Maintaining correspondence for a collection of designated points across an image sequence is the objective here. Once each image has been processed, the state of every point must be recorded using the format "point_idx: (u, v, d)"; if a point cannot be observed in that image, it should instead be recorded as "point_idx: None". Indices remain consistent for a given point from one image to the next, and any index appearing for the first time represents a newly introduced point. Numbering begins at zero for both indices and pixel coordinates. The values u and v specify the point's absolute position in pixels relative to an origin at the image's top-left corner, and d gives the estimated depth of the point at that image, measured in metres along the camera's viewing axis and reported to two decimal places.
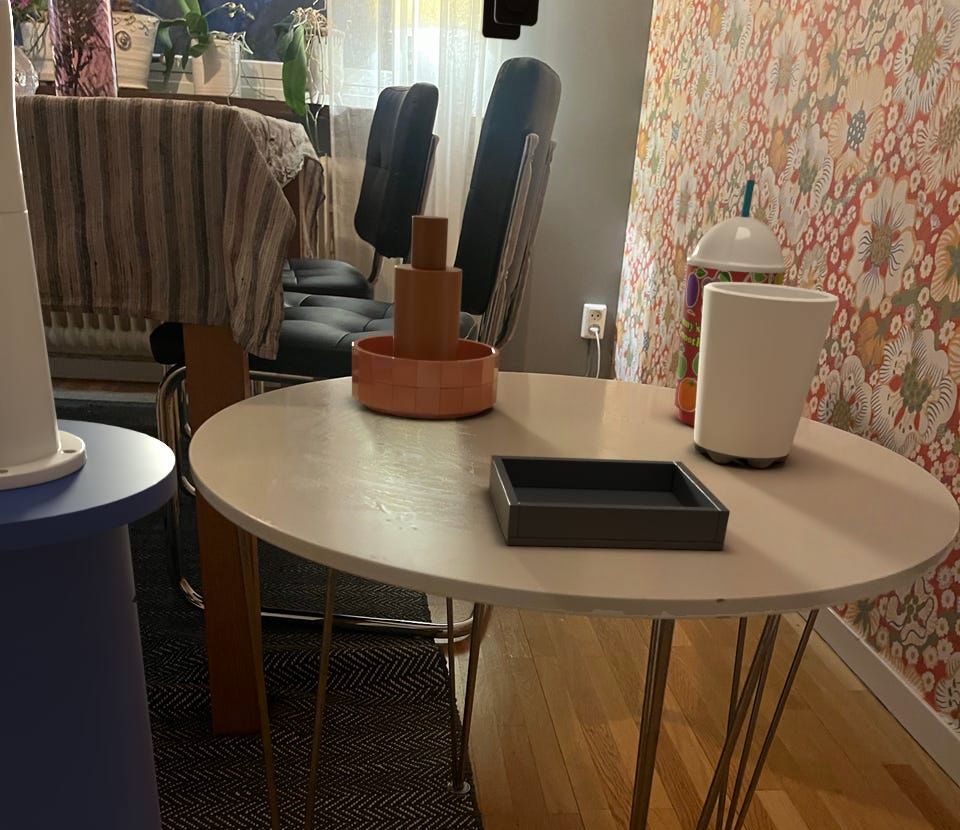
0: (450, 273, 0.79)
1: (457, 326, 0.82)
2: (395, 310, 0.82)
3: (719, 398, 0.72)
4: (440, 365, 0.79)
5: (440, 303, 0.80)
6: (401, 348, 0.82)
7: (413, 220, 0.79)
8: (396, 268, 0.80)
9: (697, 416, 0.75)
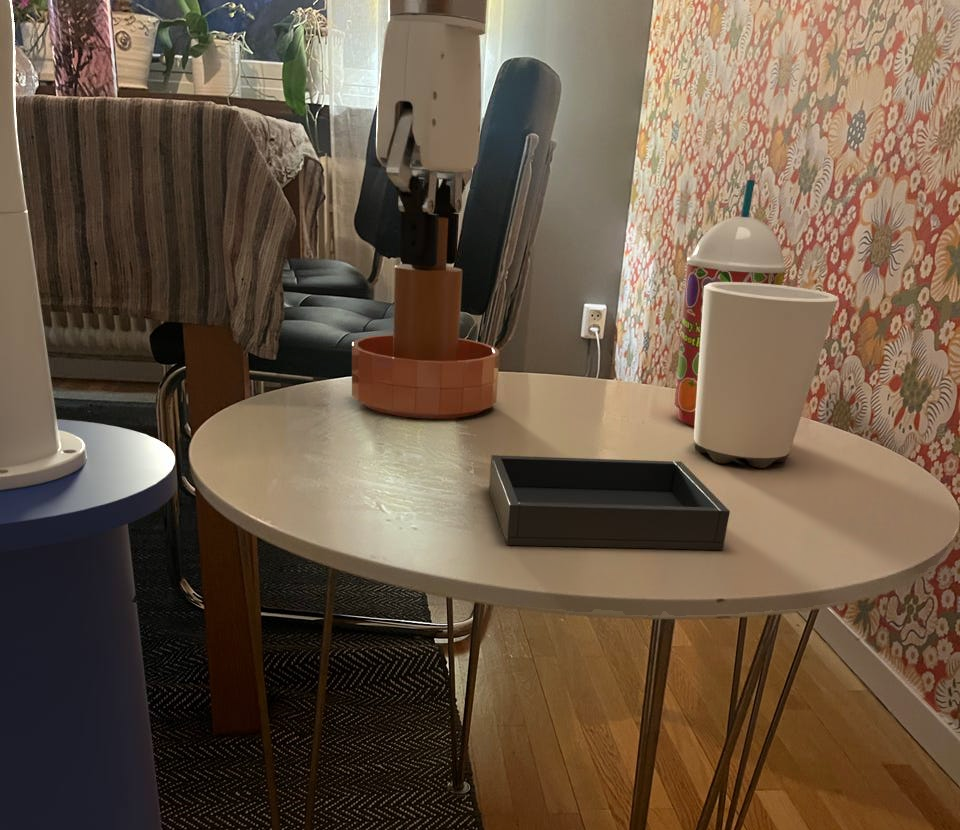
0: (450, 273, 0.79)
1: (457, 326, 0.82)
2: (395, 310, 0.82)
3: (719, 398, 0.72)
4: (440, 365, 0.79)
5: (440, 303, 0.80)
6: (401, 348, 0.82)
7: None
8: (396, 268, 0.80)
9: (697, 416, 0.75)
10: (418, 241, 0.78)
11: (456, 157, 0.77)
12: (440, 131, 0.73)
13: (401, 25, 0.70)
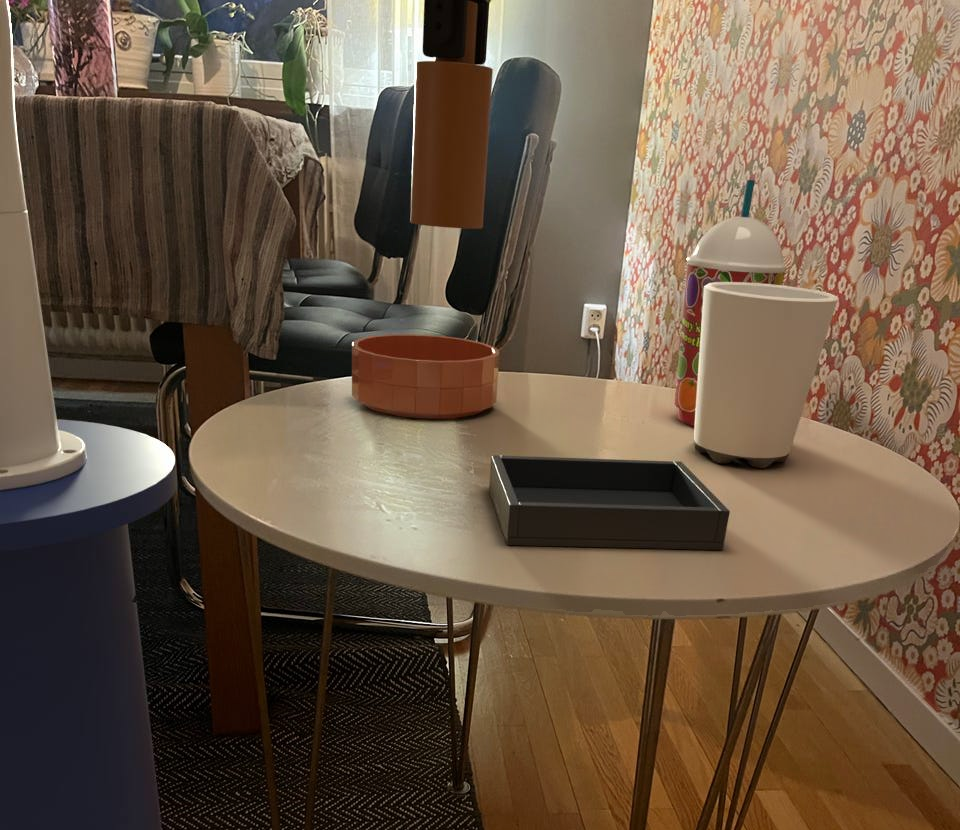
0: (480, 67, 0.69)
1: (486, 136, 0.72)
2: (416, 115, 0.72)
3: (719, 398, 0.72)
4: (440, 365, 0.79)
5: (468, 103, 0.70)
6: (422, 160, 0.72)
7: None
8: (418, 63, 0.70)
9: (697, 416, 0.75)
10: (444, 24, 0.68)
11: None
12: None
13: None
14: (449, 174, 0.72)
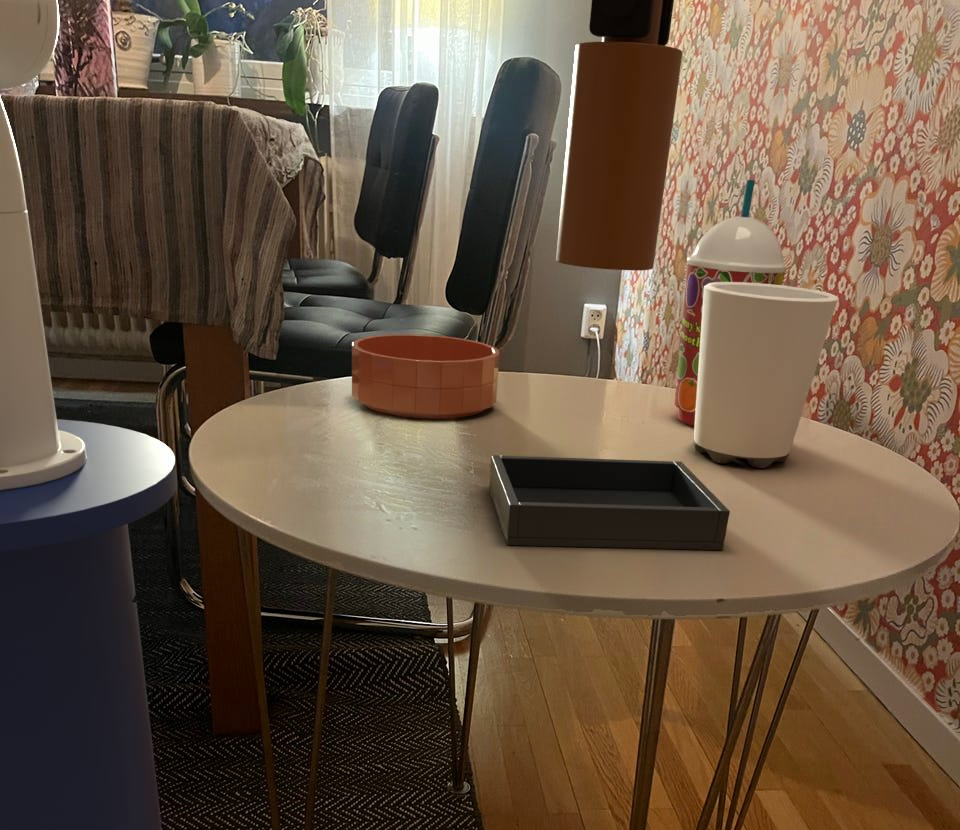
0: (671, 49, 0.50)
1: (669, 145, 0.53)
2: (574, 117, 0.52)
3: (719, 398, 0.72)
4: (440, 365, 0.79)
5: (651, 100, 0.50)
6: (581, 179, 0.53)
7: None
8: (581, 45, 0.51)
9: (697, 416, 0.75)
10: None
11: None
12: None
13: None
14: (620, 198, 0.52)
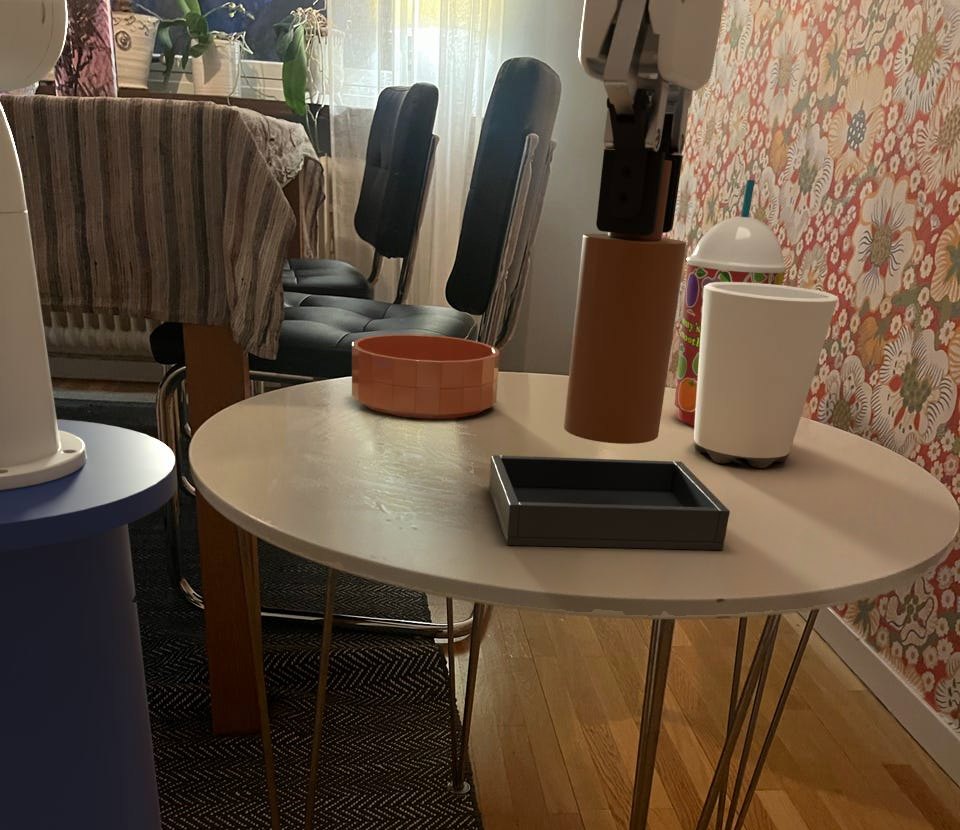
0: (675, 245, 0.52)
1: (673, 327, 0.55)
2: (582, 303, 0.54)
3: (719, 398, 0.72)
4: (440, 365, 0.79)
5: (656, 292, 0.52)
6: (589, 361, 0.55)
7: None
8: (589, 238, 0.52)
9: (697, 416, 0.75)
10: (632, 195, 0.50)
11: (696, 62, 0.49)
12: (689, 13, 0.46)
13: None
14: (626, 380, 0.54)
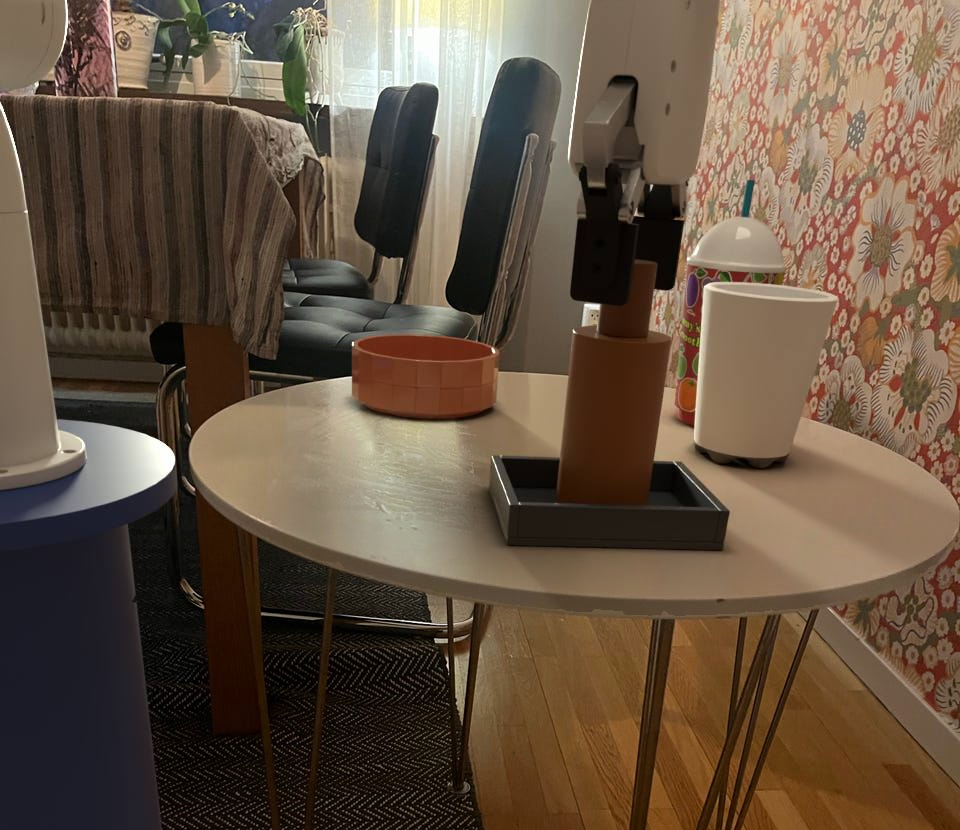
0: (660, 344, 0.54)
1: (659, 416, 0.57)
2: (572, 394, 0.56)
3: (719, 398, 0.72)
4: (440, 365, 0.79)
5: (643, 387, 0.55)
6: (578, 449, 0.57)
7: None
8: (578, 335, 0.55)
9: (697, 416, 0.75)
10: (605, 266, 0.49)
11: (681, 162, 0.51)
12: (673, 123, 0.48)
13: None
14: (614, 468, 0.56)
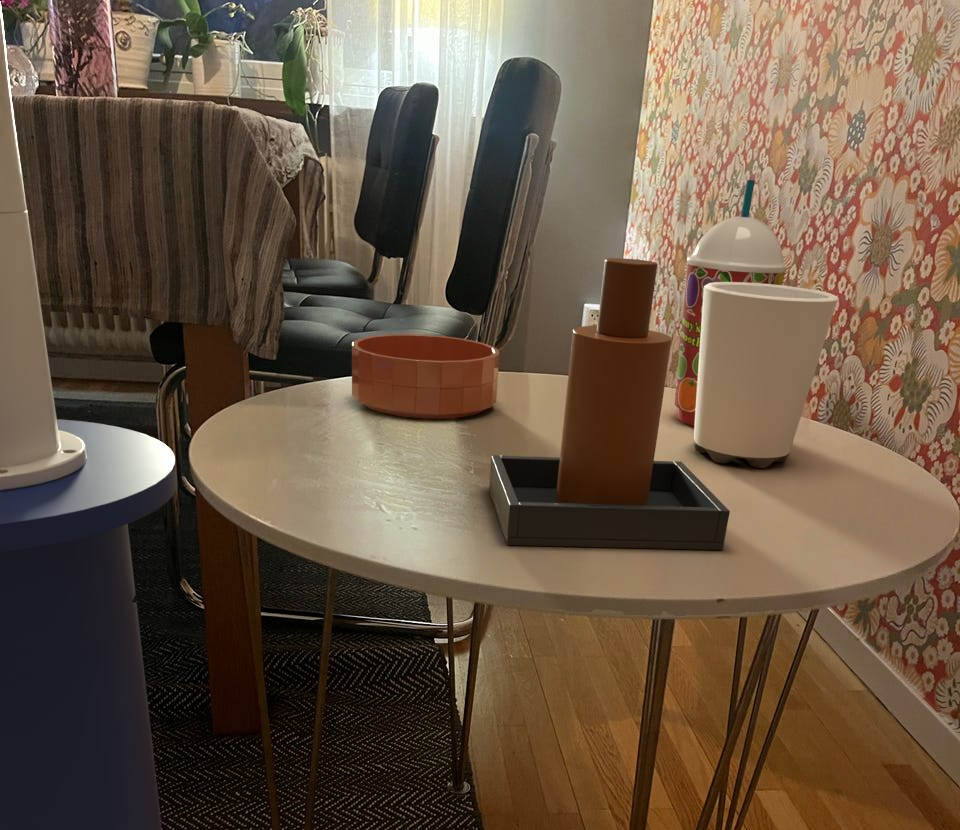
0: (660, 344, 0.54)
1: (659, 416, 0.57)
2: (572, 394, 0.56)
3: (719, 398, 0.72)
4: (440, 365, 0.79)
5: (643, 387, 0.55)
6: (578, 449, 0.57)
7: (607, 266, 0.54)
8: (578, 335, 0.55)
9: (697, 416, 0.75)
10: None
11: None
12: None
13: None
14: (614, 468, 0.56)
